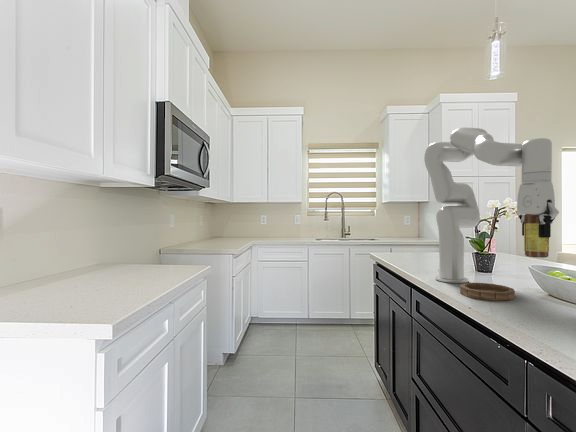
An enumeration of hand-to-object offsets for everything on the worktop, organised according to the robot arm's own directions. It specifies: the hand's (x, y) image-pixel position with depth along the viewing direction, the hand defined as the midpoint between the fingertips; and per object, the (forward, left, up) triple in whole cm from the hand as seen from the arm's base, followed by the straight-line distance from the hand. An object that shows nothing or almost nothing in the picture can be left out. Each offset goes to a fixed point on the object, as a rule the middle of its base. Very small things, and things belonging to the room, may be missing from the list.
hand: (535, 235), depth 102 cm
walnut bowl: (-11, -9, -21) cm, 26 cm away
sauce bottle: (0, 0, -7) cm, 7 cm away
